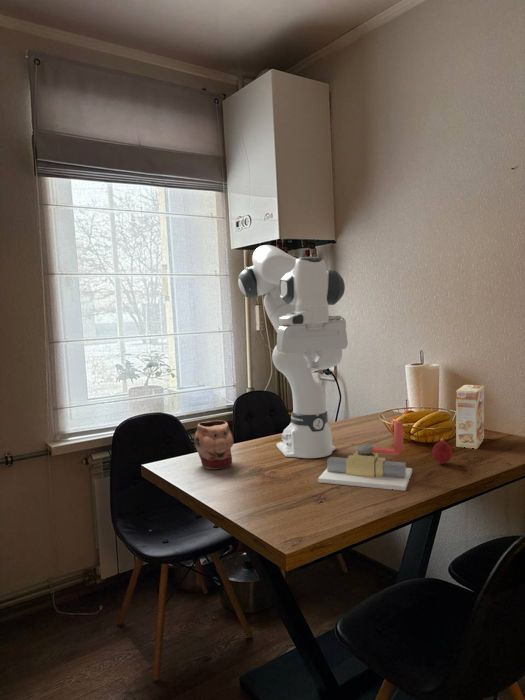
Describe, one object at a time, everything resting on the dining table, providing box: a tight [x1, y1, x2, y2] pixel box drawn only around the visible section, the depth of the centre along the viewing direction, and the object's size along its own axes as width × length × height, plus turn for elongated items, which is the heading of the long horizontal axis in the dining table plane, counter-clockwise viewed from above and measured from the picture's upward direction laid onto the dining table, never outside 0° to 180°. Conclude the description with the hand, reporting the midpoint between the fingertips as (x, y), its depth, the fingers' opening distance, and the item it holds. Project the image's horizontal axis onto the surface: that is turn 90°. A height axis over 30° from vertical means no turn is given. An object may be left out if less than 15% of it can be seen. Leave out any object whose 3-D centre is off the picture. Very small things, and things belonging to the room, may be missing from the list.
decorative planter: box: [193, 420, 235, 470], centre depth 168 cm, size 20×12×14 cm, turn 28°
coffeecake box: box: [455, 384, 485, 450], centre depth 181 cm, size 15×7×20 cm, turn 148°
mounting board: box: [317, 467, 413, 492], centre depth 150 cm, size 24×16×1 cm, turn 68°
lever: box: [357, 420, 404, 456], centre depth 147 cm, size 13×4×9 cm, turn 63°
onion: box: [431, 437, 453, 465], centre depth 159 cm, size 6×6×8 cm
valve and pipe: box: [326, 448, 407, 478], centre depth 150 cm, size 22×6×7 cm, turn 68°
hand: (313, 367), depth 142 cm, fingers closed
